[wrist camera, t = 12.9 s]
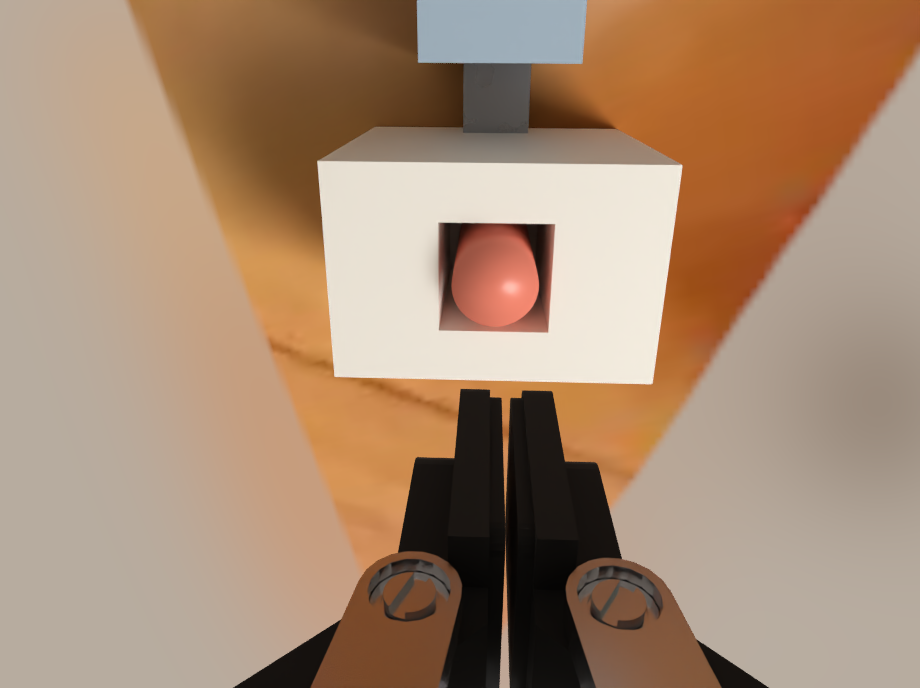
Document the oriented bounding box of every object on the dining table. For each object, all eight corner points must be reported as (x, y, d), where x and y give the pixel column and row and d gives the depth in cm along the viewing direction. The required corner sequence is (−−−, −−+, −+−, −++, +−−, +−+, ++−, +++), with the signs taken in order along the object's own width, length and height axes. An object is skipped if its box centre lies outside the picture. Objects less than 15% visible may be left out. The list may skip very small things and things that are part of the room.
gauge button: (460, 200, 28) (451, 242, 22) (529, 201, 28) (541, 244, 22) (459, 267, 29) (451, 325, 23) (526, 268, 29) (536, 327, 23)
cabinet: (367, 126, 33) (305, 161, 22) (616, 128, 32) (682, 165, 21) (374, 279, 36) (324, 376, 25) (601, 283, 35) (652, 384, 24)
